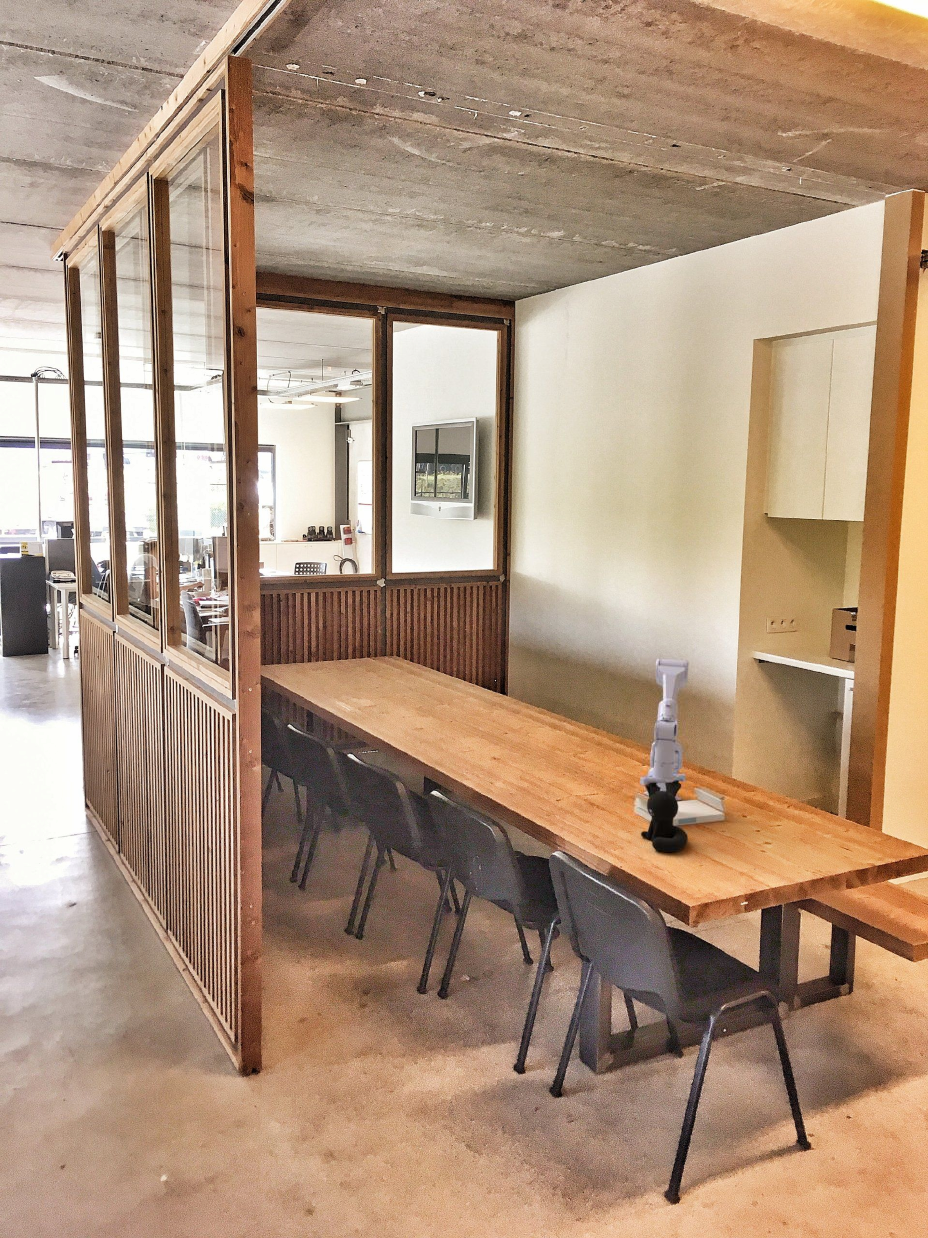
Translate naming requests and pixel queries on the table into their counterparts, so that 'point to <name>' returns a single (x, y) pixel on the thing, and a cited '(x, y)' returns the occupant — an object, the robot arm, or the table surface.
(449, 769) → the table surface
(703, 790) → the far flap
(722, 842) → the table surface
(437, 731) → the table surface
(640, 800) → the near flap
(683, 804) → the carton
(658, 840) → the figurine
